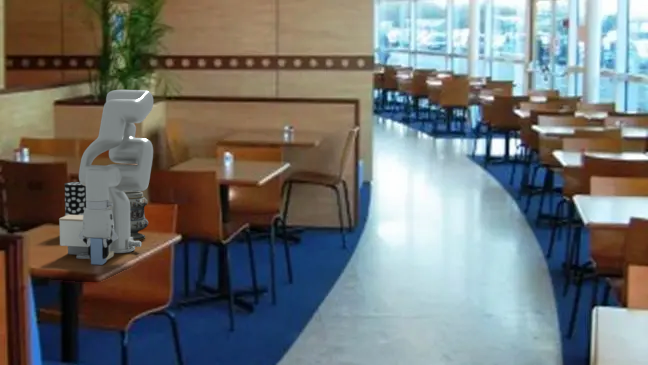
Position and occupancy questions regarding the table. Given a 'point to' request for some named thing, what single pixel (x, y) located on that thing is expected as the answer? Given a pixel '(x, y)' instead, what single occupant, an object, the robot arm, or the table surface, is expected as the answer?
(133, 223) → the apothecary jar
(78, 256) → the block
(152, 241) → the table surface
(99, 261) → the light blue block
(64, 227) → the cabinet
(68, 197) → the spotted tube
